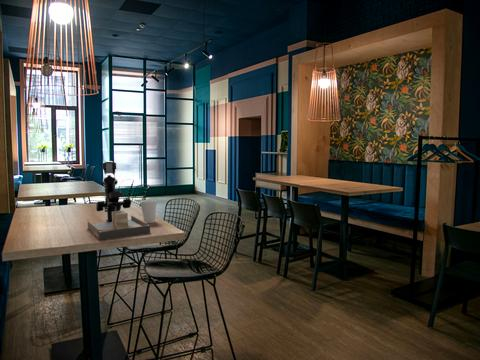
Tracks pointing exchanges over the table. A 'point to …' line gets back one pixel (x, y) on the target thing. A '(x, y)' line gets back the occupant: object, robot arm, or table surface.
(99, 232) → the grey flat rectangular tray
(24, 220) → the table surface
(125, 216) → the birch brick
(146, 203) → the foam cup
